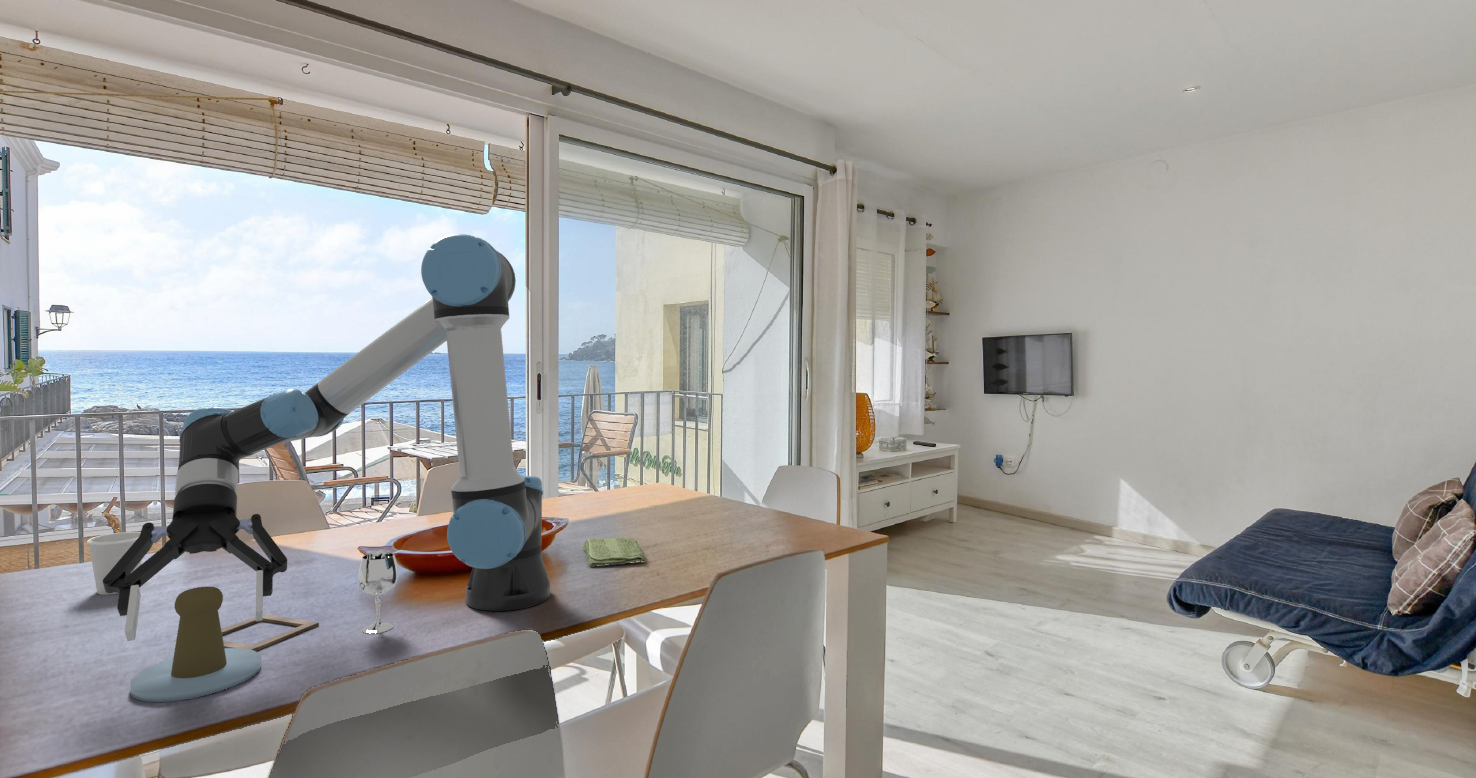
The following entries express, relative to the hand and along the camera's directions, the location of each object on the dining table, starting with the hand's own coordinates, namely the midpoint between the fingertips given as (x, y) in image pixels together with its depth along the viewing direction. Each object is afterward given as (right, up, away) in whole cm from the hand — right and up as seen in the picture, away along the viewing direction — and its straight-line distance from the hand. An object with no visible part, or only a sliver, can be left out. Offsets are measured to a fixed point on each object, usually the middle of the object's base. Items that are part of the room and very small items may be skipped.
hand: (197, 625), depth 92 cm
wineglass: (+13, -8, +21) cm, 26 cm away
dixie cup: (-44, -6, +37) cm, 58 cm away
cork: (-1, -7, +2) cm, 7 cm away
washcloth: (+44, -8, +67) cm, 81 cm away
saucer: (-1, -8, +2) cm, 8 cm away
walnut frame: (-4, -7, +17) cm, 19 cm away
